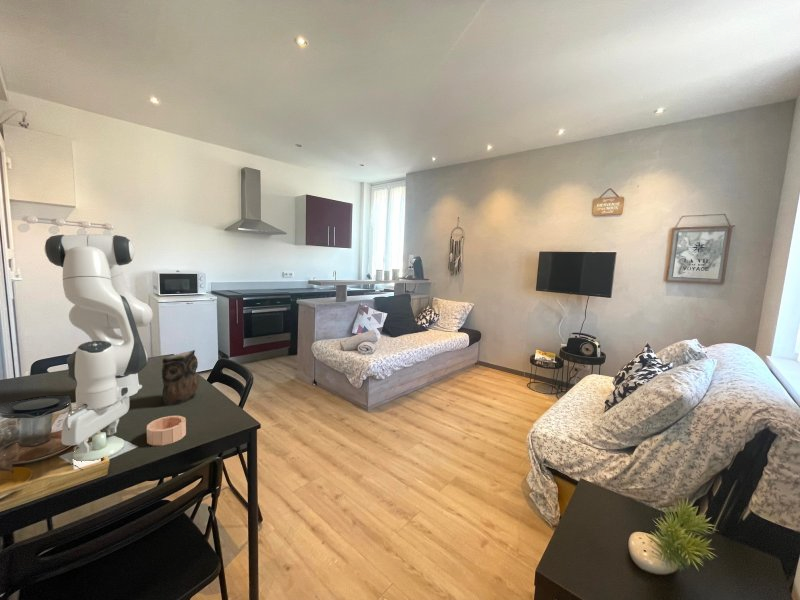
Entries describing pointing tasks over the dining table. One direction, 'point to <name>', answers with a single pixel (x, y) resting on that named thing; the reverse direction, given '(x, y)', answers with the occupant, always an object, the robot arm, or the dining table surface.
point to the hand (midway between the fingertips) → (99, 442)
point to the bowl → (166, 430)
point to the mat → (127, 447)
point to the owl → (179, 378)
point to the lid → (100, 448)
